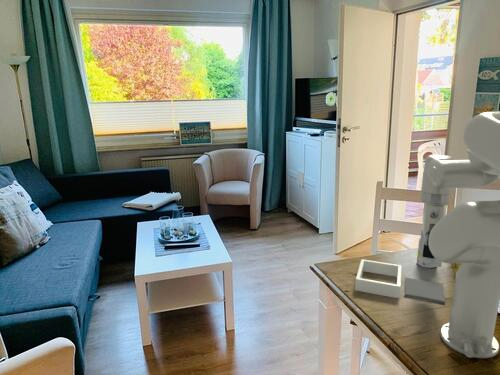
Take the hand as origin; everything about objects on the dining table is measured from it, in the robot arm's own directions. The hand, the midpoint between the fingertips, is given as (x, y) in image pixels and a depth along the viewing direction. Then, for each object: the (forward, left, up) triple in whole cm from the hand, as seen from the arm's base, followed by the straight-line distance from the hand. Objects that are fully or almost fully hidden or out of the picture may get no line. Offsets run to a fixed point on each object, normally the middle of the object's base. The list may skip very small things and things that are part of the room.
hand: (427, 250), depth 112 cm
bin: (0, +13, -13) cm, 19 cm away
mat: (0, 0, -13) cm, 13 cm away
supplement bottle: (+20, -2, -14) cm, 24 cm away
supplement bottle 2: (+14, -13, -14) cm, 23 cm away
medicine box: (0, -1, -3) cm, 4 cm away
